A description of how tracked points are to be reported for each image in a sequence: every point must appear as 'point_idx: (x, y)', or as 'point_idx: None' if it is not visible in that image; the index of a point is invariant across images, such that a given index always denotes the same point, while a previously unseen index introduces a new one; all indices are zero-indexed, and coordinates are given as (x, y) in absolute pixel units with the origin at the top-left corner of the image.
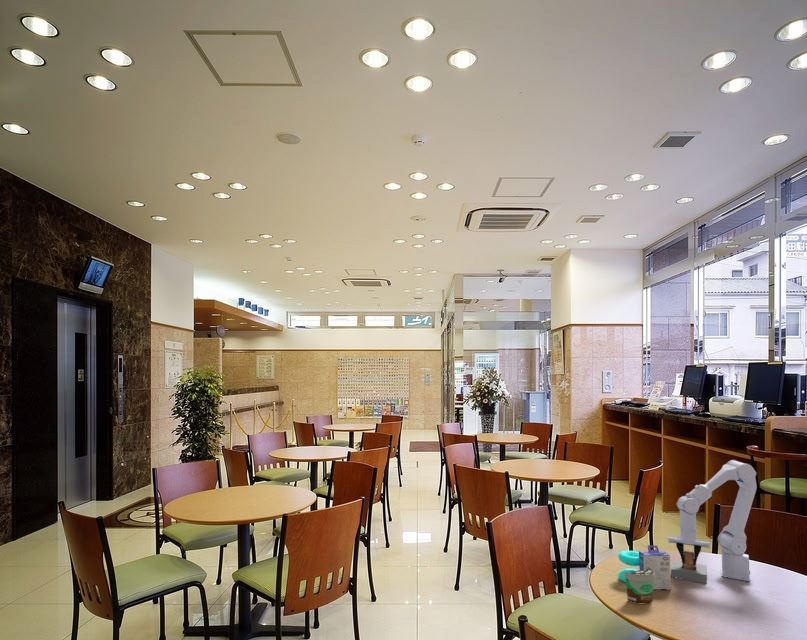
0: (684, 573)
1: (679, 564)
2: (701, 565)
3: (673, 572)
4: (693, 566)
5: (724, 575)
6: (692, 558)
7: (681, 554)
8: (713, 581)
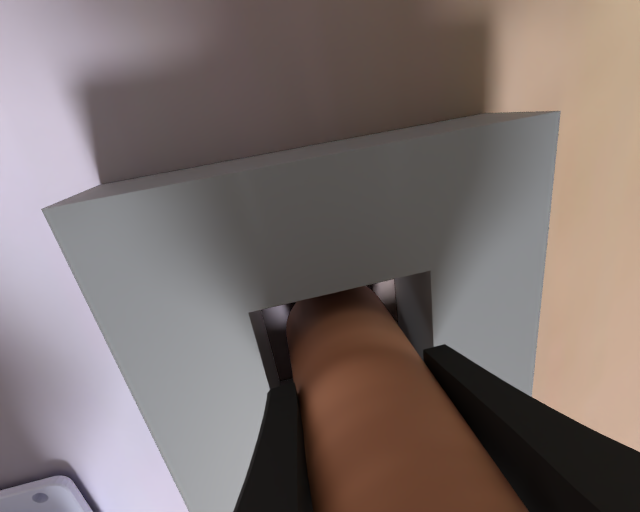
0: (372, 144)
1: None
2: None
3: (504, 114)
4: (299, 372)
5: (41, 502)
6: (332, 473)
7: (585, 447)
8: (71, 304)
